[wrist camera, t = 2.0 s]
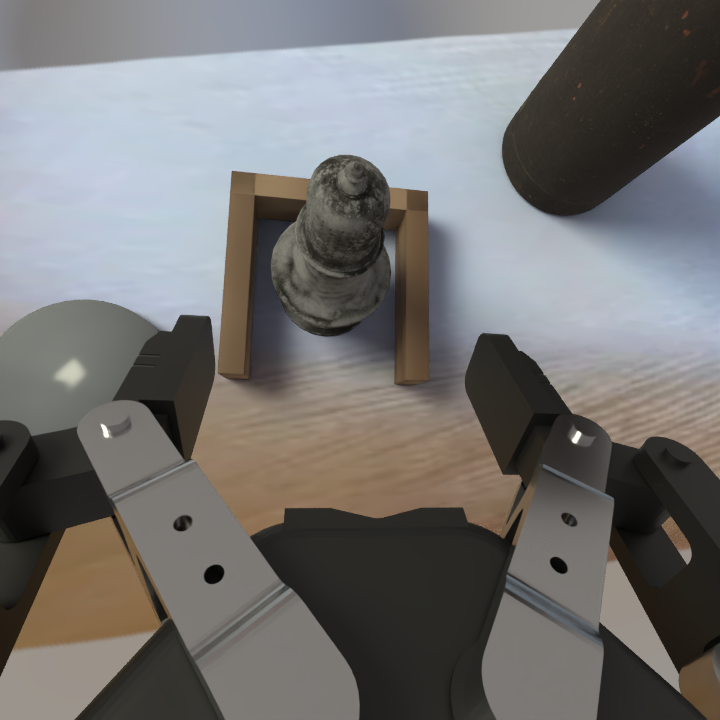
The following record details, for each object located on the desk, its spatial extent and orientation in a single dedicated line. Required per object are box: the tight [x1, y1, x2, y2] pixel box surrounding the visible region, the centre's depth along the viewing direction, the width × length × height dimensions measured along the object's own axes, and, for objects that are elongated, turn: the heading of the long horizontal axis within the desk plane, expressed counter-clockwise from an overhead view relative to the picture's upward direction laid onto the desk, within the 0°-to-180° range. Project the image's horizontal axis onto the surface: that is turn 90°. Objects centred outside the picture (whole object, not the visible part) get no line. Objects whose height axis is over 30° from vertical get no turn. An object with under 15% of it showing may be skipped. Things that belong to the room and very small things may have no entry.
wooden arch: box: [218, 171, 429, 385], centre depth 23 cm, size 10×10×2 cm
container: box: [502, 0, 720, 215], centre depth 18 cm, size 9×9×20 cm
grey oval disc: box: [0, 300, 159, 436], centre depth 21 cm, size 9×9×1 cm
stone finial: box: [271, 155, 391, 336], centre depth 18 cm, size 6×6×12 cm
